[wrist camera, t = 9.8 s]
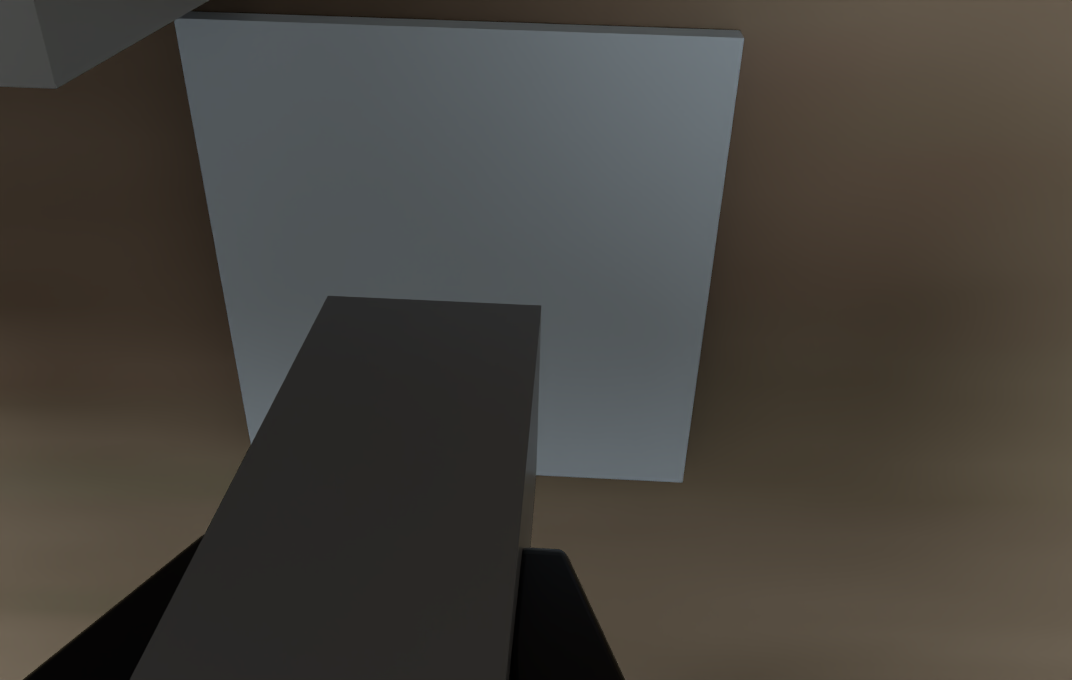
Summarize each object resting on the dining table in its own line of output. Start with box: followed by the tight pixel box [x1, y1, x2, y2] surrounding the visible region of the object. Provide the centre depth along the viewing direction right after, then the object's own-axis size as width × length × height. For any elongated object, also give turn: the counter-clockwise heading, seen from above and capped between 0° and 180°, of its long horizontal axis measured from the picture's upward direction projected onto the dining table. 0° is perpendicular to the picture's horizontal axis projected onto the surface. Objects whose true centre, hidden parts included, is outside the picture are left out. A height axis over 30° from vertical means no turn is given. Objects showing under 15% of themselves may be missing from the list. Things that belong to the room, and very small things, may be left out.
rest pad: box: [174, 11, 744, 482], centre depth 13 cm, size 7×7×1 cm
